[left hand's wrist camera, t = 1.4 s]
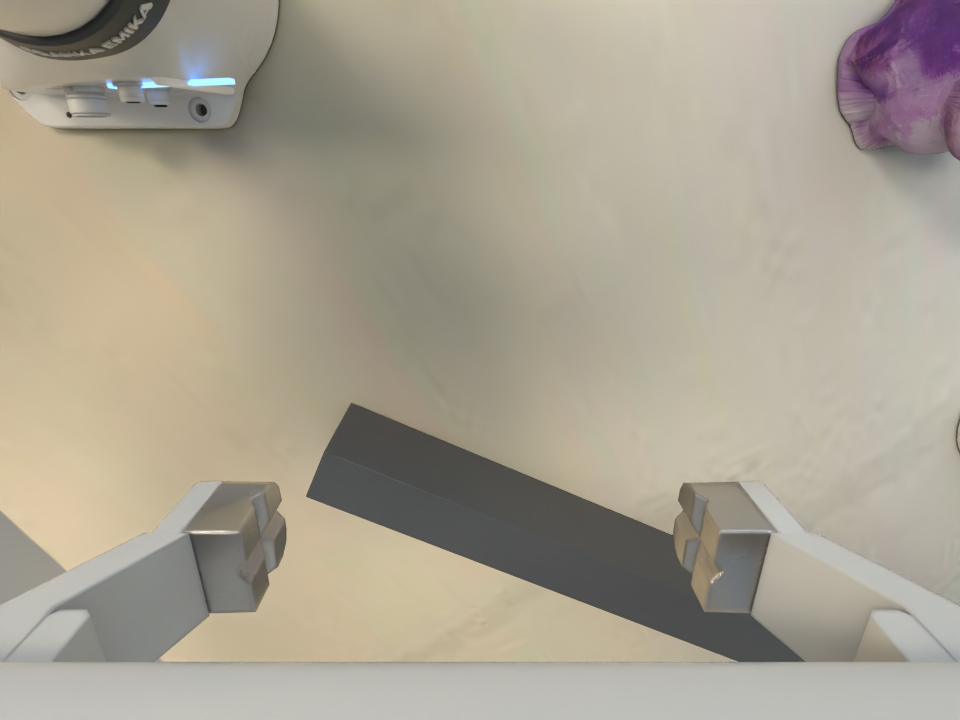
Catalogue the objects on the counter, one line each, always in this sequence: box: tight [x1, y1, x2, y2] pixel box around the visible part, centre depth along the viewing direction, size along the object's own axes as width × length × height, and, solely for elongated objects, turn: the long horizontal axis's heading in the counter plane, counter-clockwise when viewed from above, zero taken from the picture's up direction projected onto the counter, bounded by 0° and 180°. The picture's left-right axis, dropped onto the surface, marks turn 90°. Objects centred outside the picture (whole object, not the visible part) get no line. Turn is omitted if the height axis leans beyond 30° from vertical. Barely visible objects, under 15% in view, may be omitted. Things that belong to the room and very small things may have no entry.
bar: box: [306, 403, 805, 662], centre depth 52 cm, size 80×5×8 cm, turn 65°
